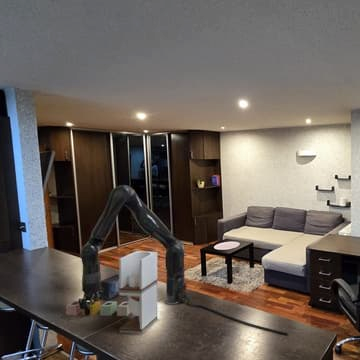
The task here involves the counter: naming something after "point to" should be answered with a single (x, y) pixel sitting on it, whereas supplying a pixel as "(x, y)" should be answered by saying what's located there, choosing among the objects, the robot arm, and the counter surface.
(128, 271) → the white shelf unit
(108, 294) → the small box
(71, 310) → the blush block
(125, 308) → the cream block
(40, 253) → the counter surface
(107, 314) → the sage block
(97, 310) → the mustard block
